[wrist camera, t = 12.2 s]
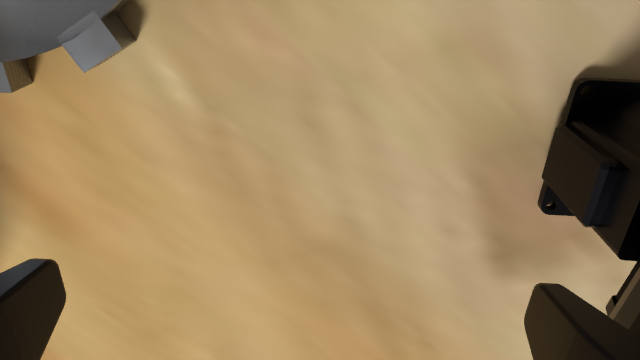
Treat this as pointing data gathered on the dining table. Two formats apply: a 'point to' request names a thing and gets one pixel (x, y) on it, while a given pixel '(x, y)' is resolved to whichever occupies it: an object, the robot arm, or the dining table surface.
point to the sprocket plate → (58, 34)
